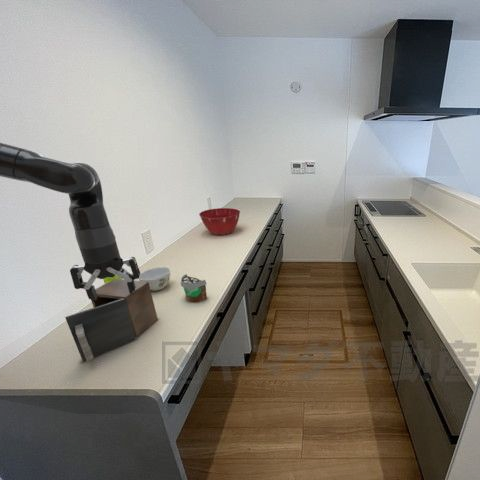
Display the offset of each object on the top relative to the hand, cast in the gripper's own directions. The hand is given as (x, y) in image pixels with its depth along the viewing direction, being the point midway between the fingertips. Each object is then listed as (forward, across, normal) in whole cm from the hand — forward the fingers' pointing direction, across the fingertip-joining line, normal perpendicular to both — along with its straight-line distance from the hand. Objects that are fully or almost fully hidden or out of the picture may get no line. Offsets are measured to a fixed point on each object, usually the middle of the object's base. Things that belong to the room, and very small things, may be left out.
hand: (114, 295), depth 74 cm
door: (+24, -7, +6) cm, 26 cm away
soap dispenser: (+24, -10, +41) cm, 49 cm away
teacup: (+24, +3, +46) cm, 52 cm away
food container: (+24, +18, +29) cm, 42 cm away
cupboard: (+24, -3, +20) cm, 31 cm away
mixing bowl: (+24, +41, +118) cm, 127 cm away
